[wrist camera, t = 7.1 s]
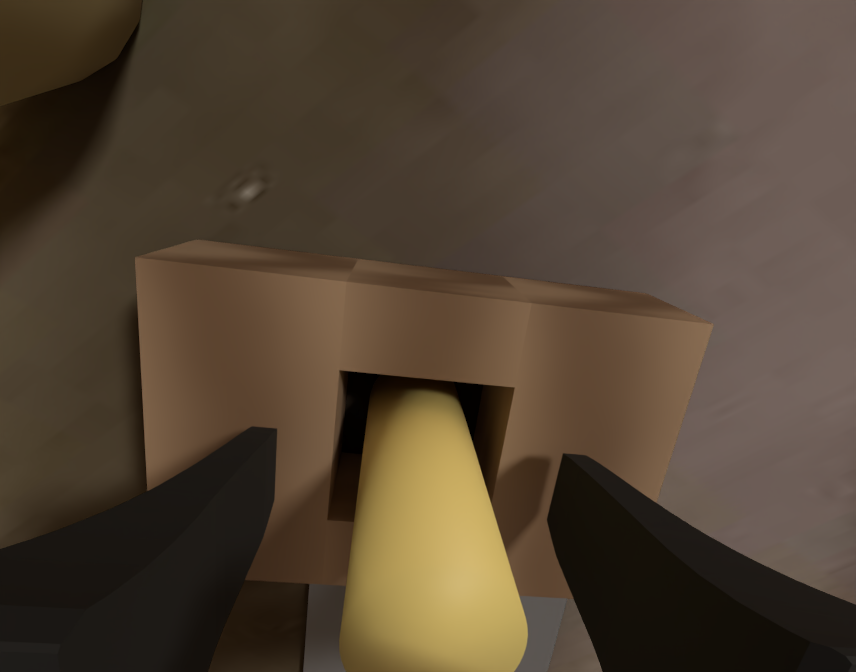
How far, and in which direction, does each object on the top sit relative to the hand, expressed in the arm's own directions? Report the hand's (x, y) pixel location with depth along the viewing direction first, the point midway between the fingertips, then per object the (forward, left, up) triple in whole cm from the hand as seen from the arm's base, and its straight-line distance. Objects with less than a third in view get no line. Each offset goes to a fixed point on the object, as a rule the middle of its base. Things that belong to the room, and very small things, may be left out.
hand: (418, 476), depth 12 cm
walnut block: (0, 0, -4) cm, 4 cm away
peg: (0, 0, -4) cm, 4 cm away
